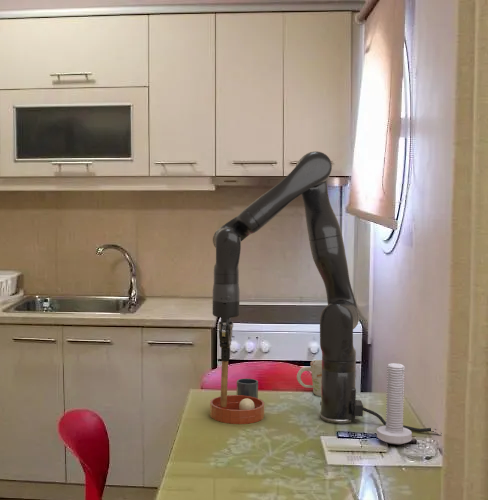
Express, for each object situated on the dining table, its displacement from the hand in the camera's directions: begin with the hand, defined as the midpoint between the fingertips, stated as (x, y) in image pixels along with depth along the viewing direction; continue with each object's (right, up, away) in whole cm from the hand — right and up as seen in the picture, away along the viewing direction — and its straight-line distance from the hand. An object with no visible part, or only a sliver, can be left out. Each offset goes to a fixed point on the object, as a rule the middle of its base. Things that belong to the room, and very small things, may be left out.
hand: (225, 359), depth 195 cm
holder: (+7, -15, +13) cm, 22 cm away
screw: (+42, -18, -19) cm, 49 cm away
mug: (+30, -15, +25) cm, 42 cm away
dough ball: (+6, -15, +3) cm, 17 cm away
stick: (0, -13, +1) cm, 13 cm away
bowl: (+3, -16, +1) cm, 17 cm away
